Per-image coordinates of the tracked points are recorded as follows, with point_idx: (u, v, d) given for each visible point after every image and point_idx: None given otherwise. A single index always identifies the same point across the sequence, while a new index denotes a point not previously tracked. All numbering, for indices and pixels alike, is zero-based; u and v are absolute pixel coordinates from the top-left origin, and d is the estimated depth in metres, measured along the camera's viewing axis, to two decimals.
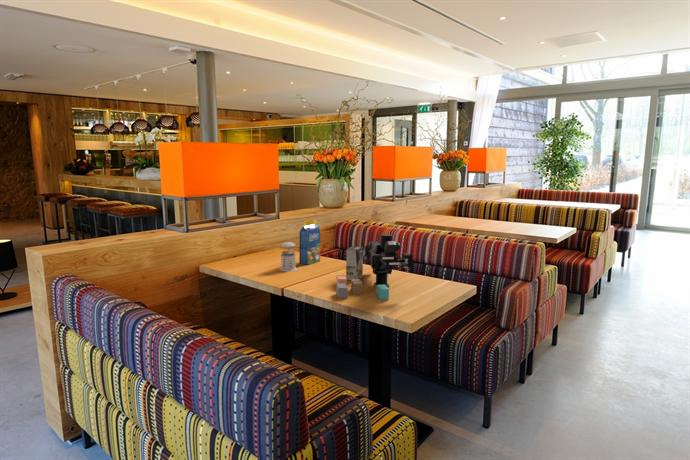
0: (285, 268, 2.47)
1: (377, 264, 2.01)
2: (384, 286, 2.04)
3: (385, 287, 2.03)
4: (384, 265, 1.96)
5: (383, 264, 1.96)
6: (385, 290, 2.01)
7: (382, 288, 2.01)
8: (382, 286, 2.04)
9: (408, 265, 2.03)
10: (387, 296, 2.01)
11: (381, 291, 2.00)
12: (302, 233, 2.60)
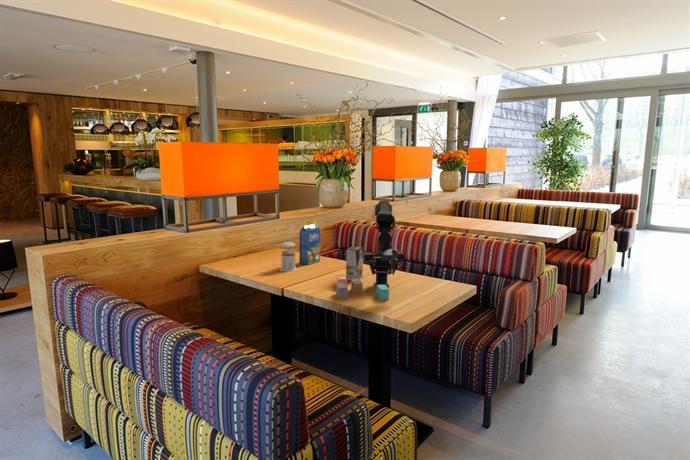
0: (285, 268, 2.47)
1: None
2: (384, 286, 2.04)
3: (385, 287, 2.03)
4: (372, 272, 2.02)
5: (371, 271, 2.02)
6: (385, 290, 2.01)
7: (382, 288, 2.01)
8: (382, 286, 2.04)
9: None
10: (387, 296, 2.01)
11: (381, 291, 2.00)
12: (302, 233, 2.60)
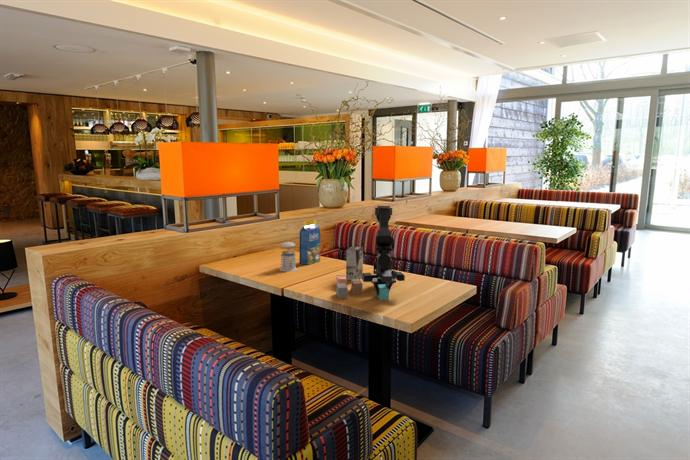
0: (285, 268, 2.47)
1: None
2: (384, 286, 2.04)
3: (385, 287, 2.03)
4: (376, 292, 2.04)
5: (376, 291, 2.04)
6: (385, 290, 2.01)
7: (382, 288, 2.01)
8: (382, 286, 2.04)
9: None
10: (387, 296, 2.01)
11: (381, 291, 2.00)
12: (302, 233, 2.60)
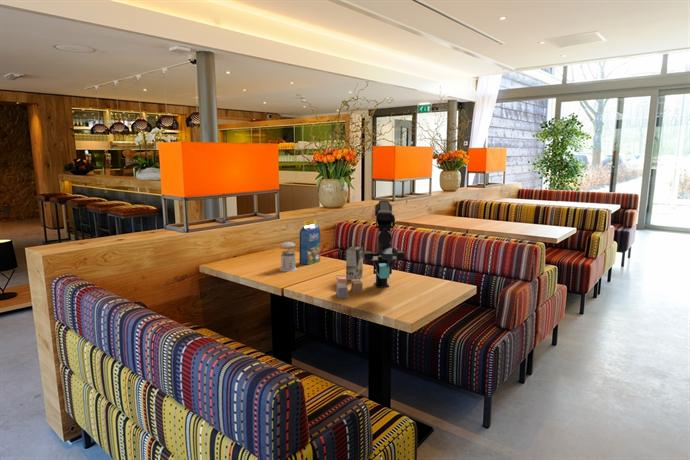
0: (285, 268, 2.47)
1: None
2: (385, 265, 2.03)
3: (386, 265, 2.01)
4: (377, 271, 2.02)
5: (376, 269, 2.02)
6: (386, 268, 1.99)
7: (383, 267, 1.99)
8: (383, 265, 2.03)
9: None
10: (388, 274, 1.99)
11: (381, 269, 1.99)
12: (302, 233, 2.60)
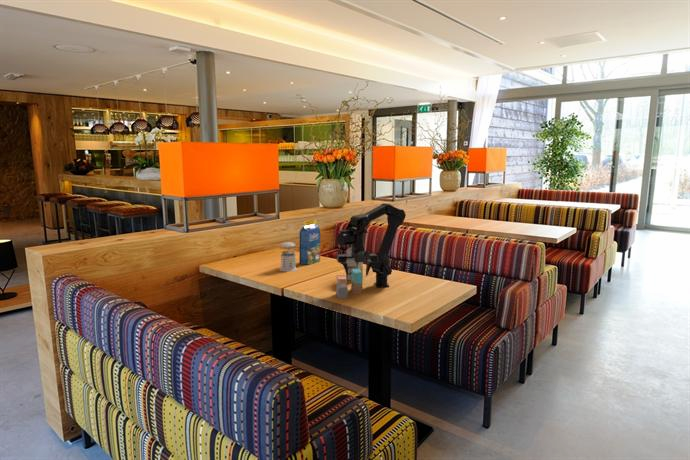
0: (285, 268, 2.47)
1: None
2: (359, 270, 2.12)
3: (359, 271, 2.10)
4: (346, 273, 2.11)
5: None
6: (359, 273, 2.08)
7: (356, 272, 2.08)
8: (357, 270, 2.12)
9: None
10: (361, 279, 2.08)
11: (355, 275, 2.08)
12: (302, 233, 2.60)
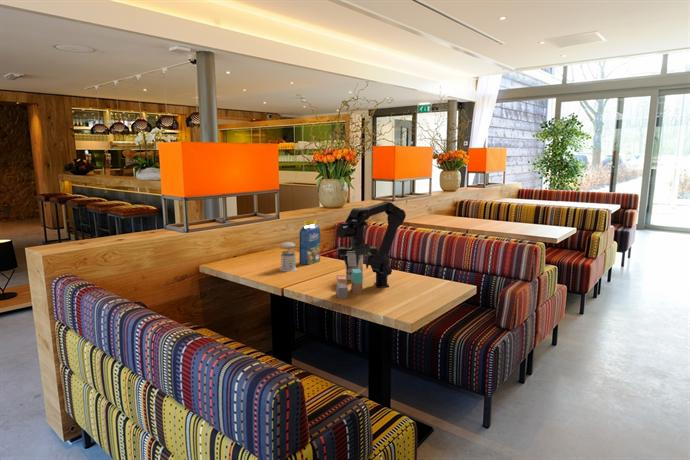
0: (285, 268, 2.47)
1: None
2: (359, 270, 2.12)
3: (359, 271, 2.10)
4: (346, 266, 2.10)
5: None
6: (359, 273, 2.08)
7: (356, 272, 2.08)
8: (357, 270, 2.12)
9: None
10: (361, 280, 2.08)
11: (355, 275, 2.08)
12: (302, 233, 2.60)
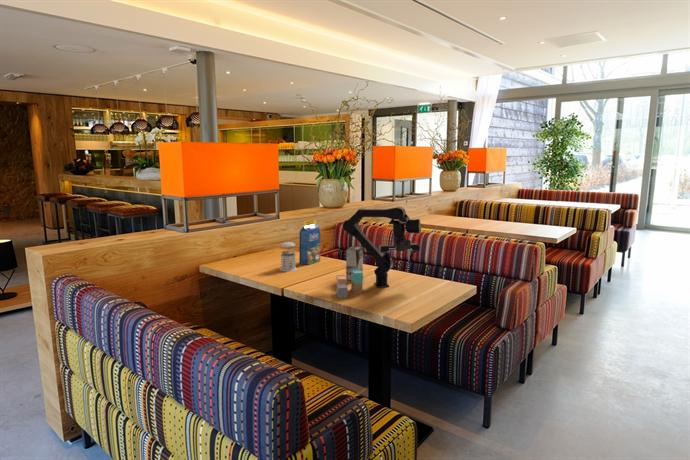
0: (285, 268, 2.47)
1: None
2: (359, 270, 2.12)
3: (359, 271, 2.10)
4: None
5: None
6: (359, 273, 2.08)
7: (356, 272, 2.08)
8: (357, 270, 2.12)
9: None
10: (361, 279, 2.08)
11: (355, 275, 2.08)
12: (302, 233, 2.60)
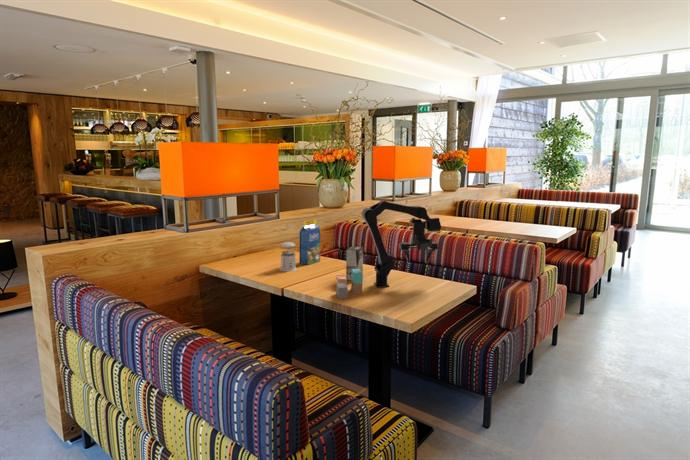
0: (285, 268, 2.47)
1: None
2: (359, 270, 2.12)
3: (359, 271, 2.10)
4: (407, 260, 2.23)
5: (407, 259, 2.22)
6: (359, 273, 2.08)
7: (356, 272, 2.08)
8: (357, 270, 2.12)
9: None
10: (361, 280, 2.08)
11: (355, 275, 2.08)
12: (302, 233, 2.60)
